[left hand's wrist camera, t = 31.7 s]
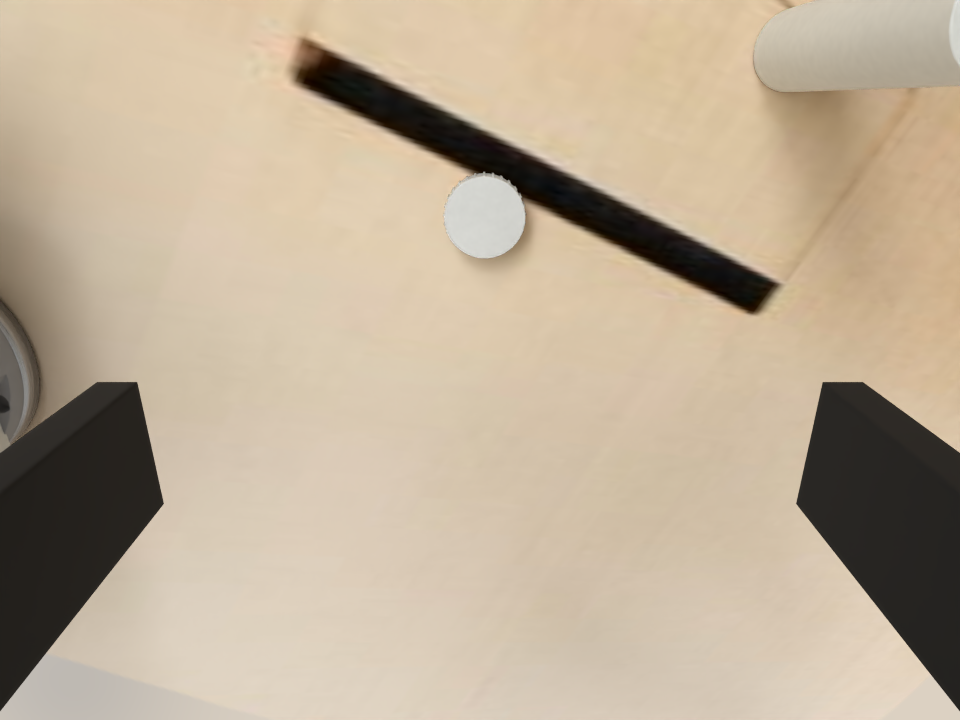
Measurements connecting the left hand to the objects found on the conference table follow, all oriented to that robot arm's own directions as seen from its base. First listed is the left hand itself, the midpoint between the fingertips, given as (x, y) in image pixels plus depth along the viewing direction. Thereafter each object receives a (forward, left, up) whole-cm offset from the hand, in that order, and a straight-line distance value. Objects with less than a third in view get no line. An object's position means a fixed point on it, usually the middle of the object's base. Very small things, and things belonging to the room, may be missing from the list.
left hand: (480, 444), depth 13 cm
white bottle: (+19, 0, -28) cm, 35 cm away
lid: (0, 0, -27) cm, 27 cm away
